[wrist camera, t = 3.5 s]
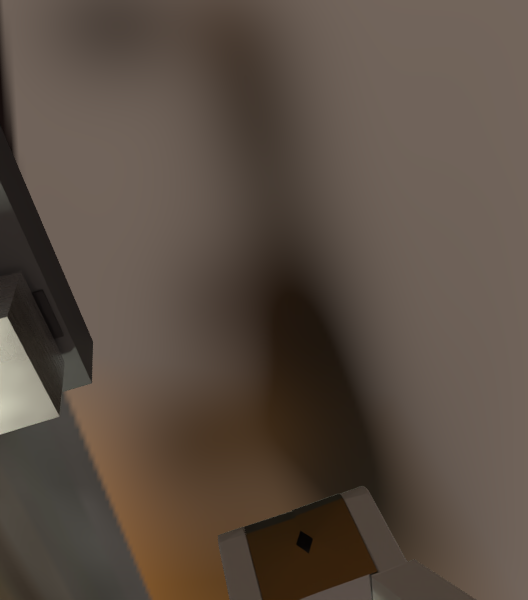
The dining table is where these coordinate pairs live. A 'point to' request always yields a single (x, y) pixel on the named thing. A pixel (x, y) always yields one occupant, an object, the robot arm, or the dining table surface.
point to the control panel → (41, 271)
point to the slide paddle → (26, 359)
